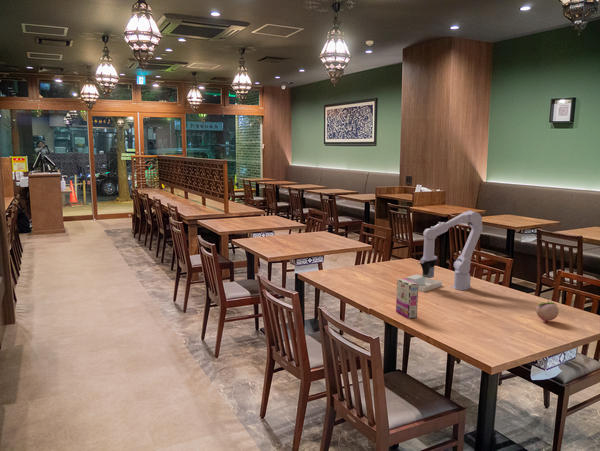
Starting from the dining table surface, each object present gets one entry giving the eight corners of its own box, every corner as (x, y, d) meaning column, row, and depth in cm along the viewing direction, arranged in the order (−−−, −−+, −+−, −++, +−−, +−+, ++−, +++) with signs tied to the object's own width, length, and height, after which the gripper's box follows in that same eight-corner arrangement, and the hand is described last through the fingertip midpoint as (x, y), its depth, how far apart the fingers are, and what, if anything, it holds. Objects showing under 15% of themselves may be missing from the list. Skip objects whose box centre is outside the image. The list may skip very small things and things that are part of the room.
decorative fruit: (545, 326, 213) (547, 304, 212) (531, 319, 221) (533, 298, 219) (562, 324, 216) (564, 302, 214) (548, 318, 224) (550, 297, 222)
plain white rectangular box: (415, 281, 282) (416, 274, 282) (424, 284, 278) (425, 276, 277) (406, 285, 276) (406, 277, 275) (414, 287, 271) (415, 279, 270)
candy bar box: (417, 318, 223) (419, 283, 221) (408, 319, 221) (409, 284, 219) (404, 310, 233) (405, 277, 231) (395, 311, 232) (396, 278, 229)
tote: (417, 281, 286) (417, 276, 286) (441, 286, 275) (441, 281, 274) (399, 286, 274) (399, 281, 274) (424, 292, 262) (424, 287, 262)
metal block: (426, 275, 273) (427, 265, 272) (433, 276, 270) (434, 266, 269) (422, 276, 270) (422, 266, 269) (429, 278, 267) (429, 267, 266)
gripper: (429, 247, 275) (428, 270, 278) (415, 250, 266) (414, 274, 268) (440, 249, 270) (439, 272, 272) (426, 252, 260) (425, 277, 263)
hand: (427, 273), depth 270 cm, fingers closed on metal block, 4 cm apart
